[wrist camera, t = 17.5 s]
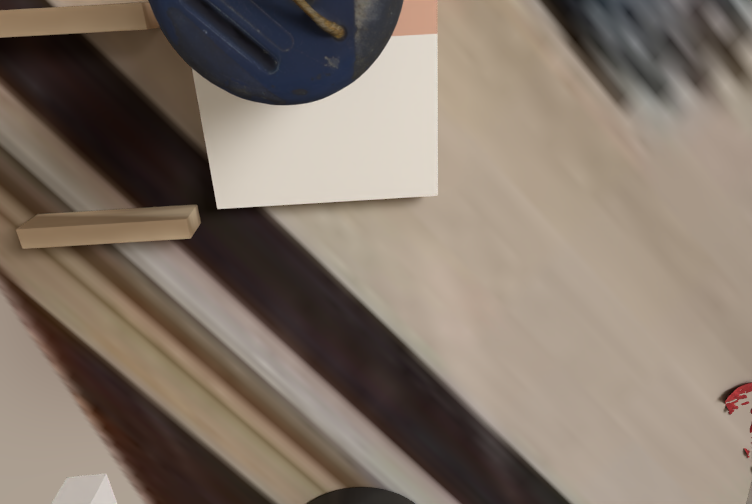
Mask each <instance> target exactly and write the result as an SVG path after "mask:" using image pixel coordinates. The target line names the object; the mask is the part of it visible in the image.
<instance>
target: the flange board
mask: <svg viewBox="0 0 752 504" xmlns="http://www.w3.org/2000/svg"><path fill="white" fill-rule="evenodd" d="M192 72H193V78H194V83H195V89H196V94H197V100H198V105H199V111H200V116H201V122H202V127H203V133H204V138H205V144H206V149H207V155H208V160H209V166H210V171H211V177H212V182H213V188H214V193H215V199H216V204H217V209H227V208H243V207H260V206H276V205H293V204H309V203H326V202H342V201H358V200H375V199H391V198H408V197H424V196H438V78H437V0H404V1H403V5H402V10H401V13H400V16H399V19H398V22H397V25H396V27H395V29H394V32H393V34H392V36H391V38H390V40H389V41H388V43H387V45H386V47H385V48H384V50H383V51H382V53H381V54H380V56H379V57H378V58H377V59H376V60H375V62H374V63H373V64H372V65H371V66H370V68H369V69H368V70H367V71H366V72H365V73H364V74H363V75H361V76H360V77H359V78H358V79H357V80H355V81H354V82H353V83H351V84H350V85H348V86H347V87H345V88H343V89H342V90H340V91H338V92H336V93H334V94H332V95H330V96H328V97H326V98H324V99H321V100H318V101H314V102H311V103H306V104H299V105H269V104H263V103H258V102H253V101H249V100H246V99H242V98H240V97H237V96H235V95H232V94H230V93H228V92H227V91H225V90H223V89H221V88H219V87H217V86H216V85H214V84H212V83H211V82H209V81H208V80H206V79H205V78H204V77H202V76H201V75H200V74H199V73H197V72H196V71H195V70H194V69H193V68H192Z"/></svg>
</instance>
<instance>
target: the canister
mask: <svg viewBox="0 0 752 504" xmlns="http://www.w3.org/2000/svg"><path fill="white" fill-rule="evenodd" d="M148 1H149V3H150V6H151V9H152V11H153V14H154V16H155V18H156V20H157V22H158V24H159V26H160V28H161V30H162V31H163V33H164V35H165V36H166V38H167V39H168V41H169V42H170V44H171V45H172V47H173V48H174V49H175V50H176V51H177V53H178V54H179V55H180V56H181V57H182V58H183V60H184V61H185V62H186V63H187V64H188V65H190V66H191V67H192V68H193V69H194V70H195V71H196V72H197V73H199V74H200V75H201V76H202V77H204V78H205V79H206V80H208V81H209V82H211V83H212V84H214V85H216V86H217V87H219V88H221V89H223V90H225V91H227V92H228V93H230V94H232V95H235V96H237V97H240V98H242V99H246V100H249V101H253V102H258V103H263V104H269V105H299V104H306V103H311V102H314V101H318V100H321V99H324V98H326V97H328V96H330V95H332V94H334V93H336V92H338V91H340V90H342V89H343V88H345V87H347V86H348V85H350V84H351V83H353V82H354V81H355V80H357V79H358V78H359V77H360V76H361V75H363V74H364V73H365V72H366V71H367V70H368V69H369V68H370V66H371V65H372V64H373V63H374V62H375V60H376V59H377V58H378V57H379V56H380V54H381V53H382V51H383V50H384V48H385V47H386V45H387V43H388V41H389V40H390V38H391V36H392V34H393V32H394V29H395V27H396V25H397V22H398V19H399V16H400V13H401V10H402V5H403V1H404V0H148Z"/></svg>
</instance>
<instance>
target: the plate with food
mask: <svg viewBox="0 0 752 504" xmlns="http://www.w3.org/2000/svg"><path fill="white" fill-rule="evenodd" d="M741 389H742V390H741ZM740 390H741V391H740ZM745 391H746V393H748V392H751V391H752V383H748V384H745V385H743V386H740V387H738V388H737V389H736V390H735V391H734V392H733V393H732V394H731V395H730V396H729V397H728V398H727V399H726V401H725V404H726V402H729V401H732V400H734V399H737V400H736V401H734V402H732V403H727V404H726V406H727V408H728V411H729V413H730V414H732V412H734V410H733V409H738V406H735V405H734V403H736V402H738V400H739V399H744V398H747V396H746V395H742V396H739V394H742V393H745ZM748 403H749V402H745V403H742V404H741V405H746V404H748ZM751 414H752V409H751ZM751 432H752V424H751V426H750V433H751ZM751 438H752V437H751ZM751 443H752V442H751ZM751 445H752V444H751ZM744 449H745V448H744ZM745 451H746V453H747V456H748V455H749V452H750V451H748V450H747V449H745ZM748 457H749V456H748Z"/></svg>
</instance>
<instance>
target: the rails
mask: <svg viewBox="0 0 752 504" xmlns="http://www.w3.org/2000/svg"><path fill="white" fill-rule="evenodd" d="M158 27H160V26H159V24H158V22H157V20H156V18H155V16H154V14H153V11H152V9H151V6H150V3H149V2H145V3H126V4H108V5H89V6H71V7H53V8H35V9H17V10H0V38H2V37H20V36H38V35H56V34H74V33H91V32H109V31H127V30H145V29H152V28H158ZM200 223H201V221H200V216H199V211H198V206H197V205H182V206H165V207H149V208H132V209H116V210H99V211H83V212H66V213H50V214H37V215H36V216H34V217H33V218H31V219H30V220H29V221H27V222H26V223H24V224H23V225H21V226H20V227H19V228H17V229H16V232H17V235H18V237H19V240H20V243H21V246H22V249H28V248H44V247H60V246H76V245H93V244H109V243H125V242H141V241H158V240H174V239H190V238H191V237H192V236H193V234H194V233H195V231H196V229H197V228H198V226H199V225H200Z"/></svg>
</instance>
